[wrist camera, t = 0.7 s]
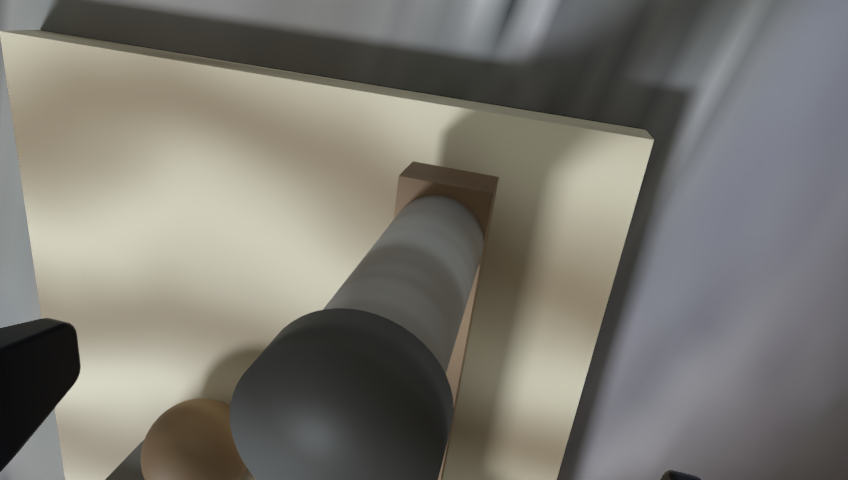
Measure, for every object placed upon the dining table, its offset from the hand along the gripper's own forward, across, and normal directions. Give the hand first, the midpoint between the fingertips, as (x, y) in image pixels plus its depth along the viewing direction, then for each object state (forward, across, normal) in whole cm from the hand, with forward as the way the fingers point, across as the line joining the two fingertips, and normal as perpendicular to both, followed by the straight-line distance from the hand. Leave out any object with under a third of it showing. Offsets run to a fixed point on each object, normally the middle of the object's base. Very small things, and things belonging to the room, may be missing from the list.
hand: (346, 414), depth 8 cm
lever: (+9, 0, +7) cm, 11 cm away
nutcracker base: (+11, +5, +7) cm, 14 cm away
